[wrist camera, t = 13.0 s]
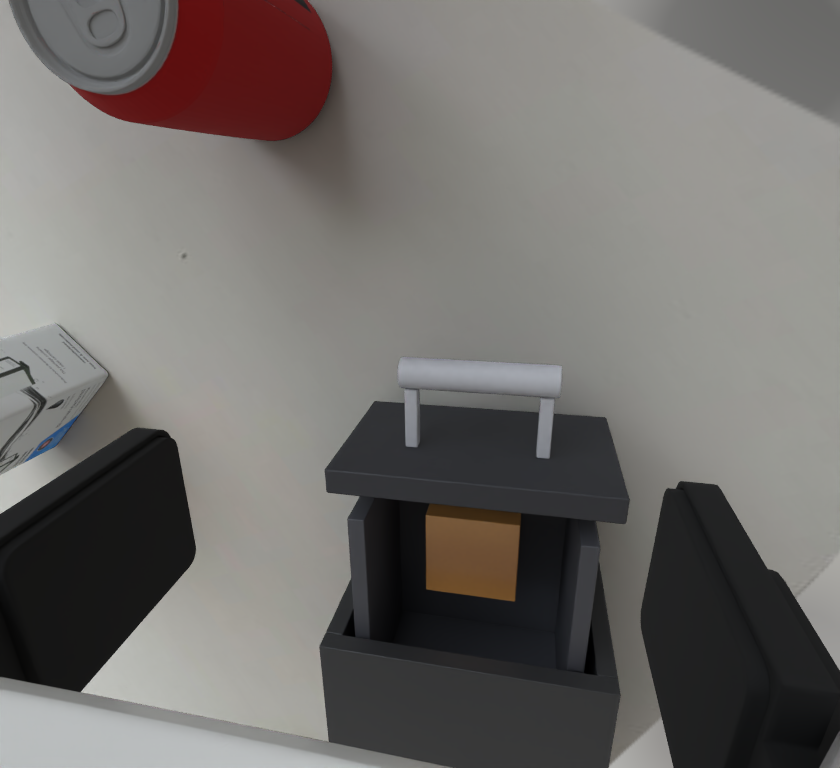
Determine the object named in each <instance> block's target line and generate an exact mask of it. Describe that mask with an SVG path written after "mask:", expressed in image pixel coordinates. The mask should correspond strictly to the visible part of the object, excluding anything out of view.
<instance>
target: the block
mask: <svg viewBox="0 0 840 768" xmlns="http://www.w3.org/2000/svg"><path fill="white" fill-rule="evenodd" d="M520 527H521V513H515V512H506V511H496V510H487V509H478V508H468V507H459V506H449V505H440V504H429V507H428V510H427V513H426V589H427V590H433V591H441V592H448V593H455V594H462V595H470V596H477V597H484V598H492V599H499V600H506V601H513V602H515V600H516V586H517V571H518V557H519V542H520Z"/></svg>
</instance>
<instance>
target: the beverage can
mask: <svg viewBox="0 0 840 768" xmlns="http://www.w3.org/2000/svg"><path fill="white" fill-rule="evenodd" d="M9 3H10V7H11V10H12V13H13V15H14V18H15V20H16V23H17V25H18V27H19V29H20V31H21V33H22V35H23V37H24V38H25V40H26V42H27V43H28V45H29V46H30V48H31V49H32V51H33V52H34V53H35V55H36V56H37V57H38V58H39V59H40V60H41V62H42V63H43V64H44V65H45V66H46V67H47V68H48V69H49V70H50V71H52V72H53V73H54V74H55V75H57V76H58V77H59V78H60V79H62V80H64V81H65V82H67V83H69V84H70V86H71V87H72V88H73V89H74V90H75V91H76V92H77V93H78V94H79V95H81V96H82V97H83V98H84V99H85V100H87V101H88V102H89V103H90V104H92V105H93V106H95V107H96V108H98V109H99V110H101V111H103V112H104V113H106V114H108V115H110V116H113V117H115V118H118V119H121V120H124V121H128V122H133V123H140V124H146V125H153V126H159V127H165V128H172V129H179V130H186V131H193V132H200V133H207V134H214V135H222V136H230V137H238V138H247V139H256V140H266V141H277V140H283V139H287V138H290V137H292V136H294V135H296V134H298V133H300V132H301V131H303V130H304V129H305V128H306V127H308V126H309V125H310V124H311V123H312V122H313V121H314V119H315V118H316V117H317V116H318V114H319V112H320V111H321V109H322V107H323V105H324V103H325V101H326V98H327V96H328V93H329V89H330V84H331V78H332V55H331V48H330V43H329V39H328V36H327V33H326V30H325V28H324V25H323V23H322V21H321V19H320V17H319V16H318V14H317V12H316V11H315V9H314V8H313V7H312V5H311V4H310V3H309V2H308V1H307V0H9Z"/></svg>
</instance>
